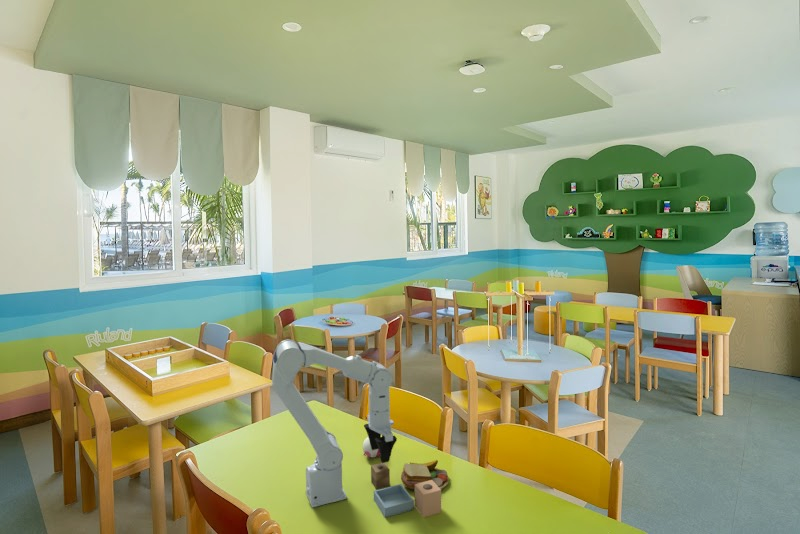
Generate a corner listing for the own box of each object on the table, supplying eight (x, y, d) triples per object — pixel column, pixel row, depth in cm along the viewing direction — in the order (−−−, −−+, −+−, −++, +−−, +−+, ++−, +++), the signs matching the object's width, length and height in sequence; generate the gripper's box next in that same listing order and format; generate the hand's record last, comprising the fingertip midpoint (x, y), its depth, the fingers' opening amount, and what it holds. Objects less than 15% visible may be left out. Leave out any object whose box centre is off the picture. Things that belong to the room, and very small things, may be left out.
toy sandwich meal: (452, 494, 122) (452, 477, 122) (402, 496, 122) (402, 479, 121) (445, 469, 135) (445, 454, 134) (400, 471, 134) (399, 455, 134)
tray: (384, 517, 112) (384, 508, 112) (373, 499, 120) (373, 491, 120) (414, 509, 116) (413, 500, 115) (401, 492, 123) (401, 483, 123)
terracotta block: (423, 517, 113) (423, 494, 112) (414, 506, 117) (414, 484, 117) (441, 512, 115) (441, 489, 114) (431, 501, 119) (431, 479, 119)
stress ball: (376, 471, 140) (388, 455, 139) (355, 457, 140) (367, 440, 139) (379, 457, 147) (390, 442, 146) (359, 444, 147) (370, 428, 146)
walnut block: (376, 489, 125) (376, 472, 124) (371, 482, 128) (371, 465, 128) (389, 486, 126) (389, 468, 126) (384, 478, 130) (384, 462, 129)
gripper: (403, 415, 120) (403, 464, 121) (383, 396, 133) (383, 441, 135) (378, 420, 117) (379, 470, 119) (360, 400, 130) (361, 445, 132)
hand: (380, 455), depth 126 cm, fingers open, 7 cm apart
